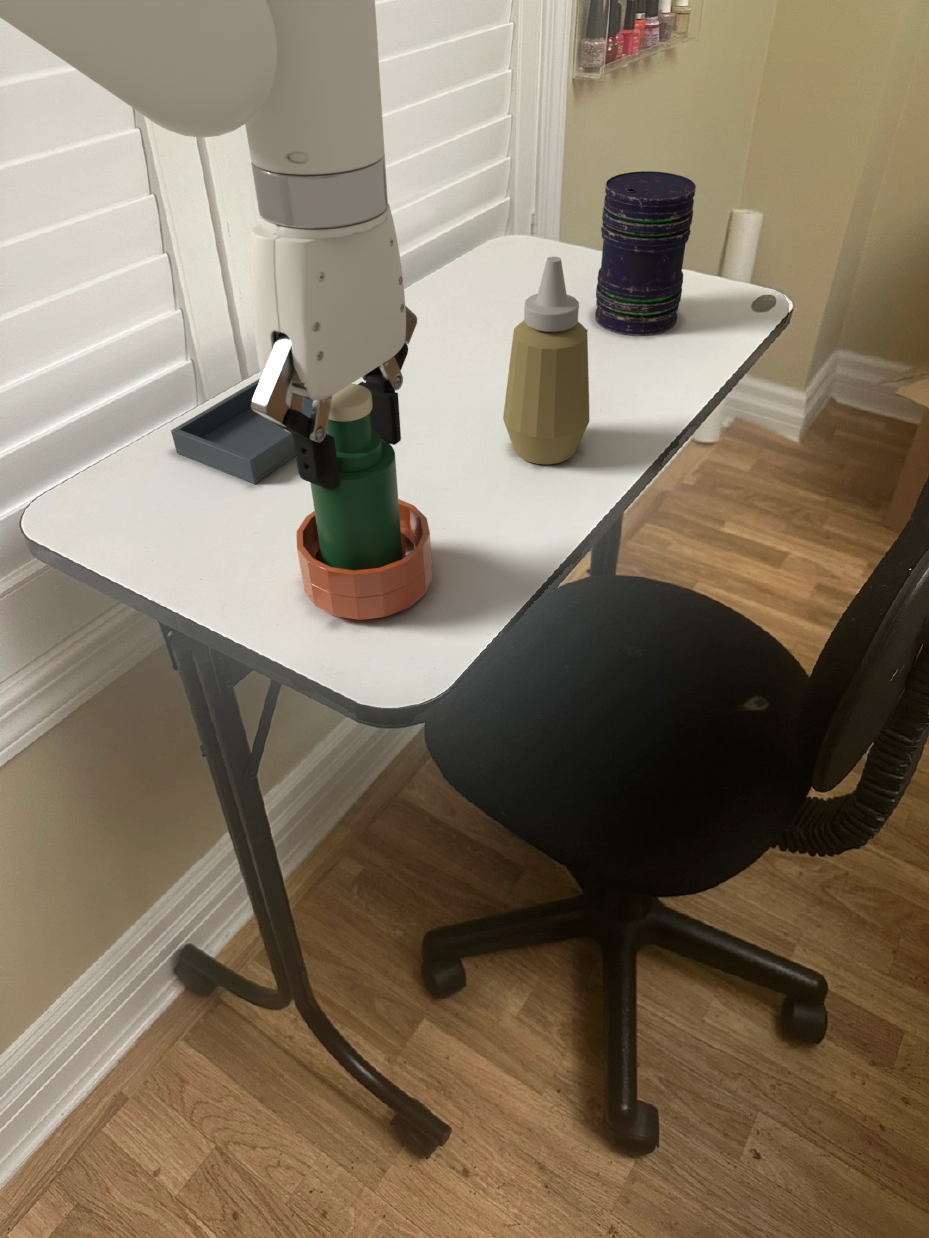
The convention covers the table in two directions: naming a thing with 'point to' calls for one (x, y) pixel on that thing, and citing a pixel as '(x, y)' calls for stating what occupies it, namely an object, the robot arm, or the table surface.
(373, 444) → the bottle
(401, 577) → the bowl
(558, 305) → the squeeze bottle
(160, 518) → the table surface
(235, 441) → the tray
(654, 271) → the oil drum
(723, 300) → the table surface
